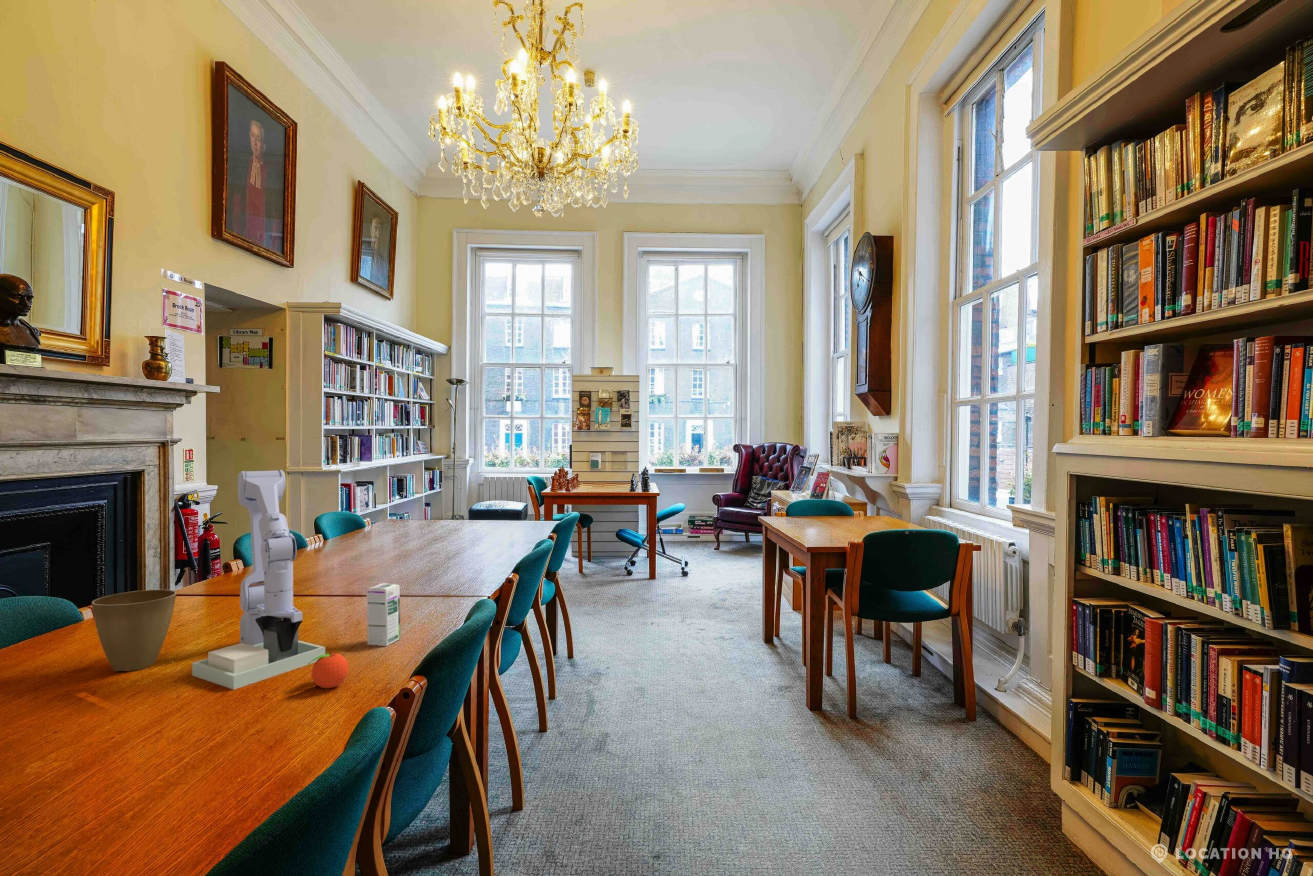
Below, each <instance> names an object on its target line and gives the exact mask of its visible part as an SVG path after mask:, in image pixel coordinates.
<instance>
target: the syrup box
mask: <svg viewBox="0 0 1313 876" xmlns="http://www.w3.org/2000/svg"><path fill="white" fill-rule="evenodd" d="M400 591H401V588H400V583H393V582H391V583H390V582H388V583H386V582H384V583H383V582H382V583H379V584H377V585H373V586H371V587H368V588H367V589H366V623H367V624H366V627H367V629H366V630H367V645H368V646H369V645H370V646H375V645H378V646H377V647H388V646H390V645H391V644H393V643H395V642H397V641H400V640H401V639H402V638H401V596H400V595H401V593H400Z"/></svg>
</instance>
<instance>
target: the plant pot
mask: <svg viewBox="0 0 1313 876" xmlns="http://www.w3.org/2000/svg"><path fill="white" fill-rule="evenodd" d="M176 596H177V591H175V590H172V589H144V590H134V591H133V590H132V591H127V592H120V593H113V594H109V595H106V596H102V597H99V598H96V599H93V600H92V602H91V608H92V614H93V618H94V619H93V620H94V623H95V628H96V631H97V635H98V638H99V641H100V644H101V647H102V650H103V651H104V654H105V657H106V658H107V661H108V663H109V665H110V667H111V669H112V671H114V670H115V671H114V672H117V671H127V672H134V671H139V670H143V669H146V668H149V667H151V666H153V665H155V663H156V661H157V659H158V658H159V657H158V656H159V655H160V652H161V650H162V648H163V644H164V642H165V639H166V637H167V633H168V631H169V627H170V624H171V621H172V617H173V612H174V609H175V607H174V606H175V602H176V598H177V597H176ZM133 670H134V671H133Z"/></svg>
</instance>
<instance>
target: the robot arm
mask: <svg viewBox="0 0 1313 876" xmlns="http://www.w3.org/2000/svg"><path fill="white" fill-rule="evenodd" d="M286 483H287V482H286V474H285V472H284V470H282V469H278V470H253V471H252V470H251V471H249V470H247V471H244V470H241V471H240V472H238V475H237V499H238V502H239V505H240V506H241V507H245V508H247V511H248V516H249V522H250V523H249V525H250V541H251V543H250V544H251V560H252V561H251V562H252V572H251V573H250V574H248V575H246V577H244V579H242V581H241V583H240V591H239V605H240V609H241V611H243V614H242V615H241V616H240V619H239V643H245V644H249V645H252V646H253V645H256V644H260V643H264V629H268V628H272V627H275V628H276V630H277V633H278V637H279V645H280V650H281V652H284V651H288V650H291V648H292V645H293V641H294V637H295V634H296V632H297V630H298V631H299V627H300V626H301V624H302V623H303V611H301V610H298V608H296V607H295V606H294V561H296V558H297V550H298V549H297V542H296V537H295V536H294V535H293V533H292V532H291V533H290V529H289V524H288V520H287V517H286V515H284V514H283V513H280V505H279V504H280V503H281V501H282V499H283V495H284V493H285V490H286Z"/></svg>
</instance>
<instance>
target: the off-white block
mask: <svg viewBox="0 0 1313 876" xmlns="http://www.w3.org/2000/svg"><path fill="white" fill-rule="evenodd" d="M207 658H208V666H211V667H214V668H218V669H221V670H224V671H227V672H230V673H233V674H238V673H241V672H245V671H248V670H251V669H254V668H257V667H260V666H263V665H267V664H268V650H267V649H263V648H260V647H256V646H252V645H249V644H245V643H240V642H239V643H236V644H233V645H229V646H225V647H221V648H218V649H215V650H211V651H208V653H207Z"/></svg>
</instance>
